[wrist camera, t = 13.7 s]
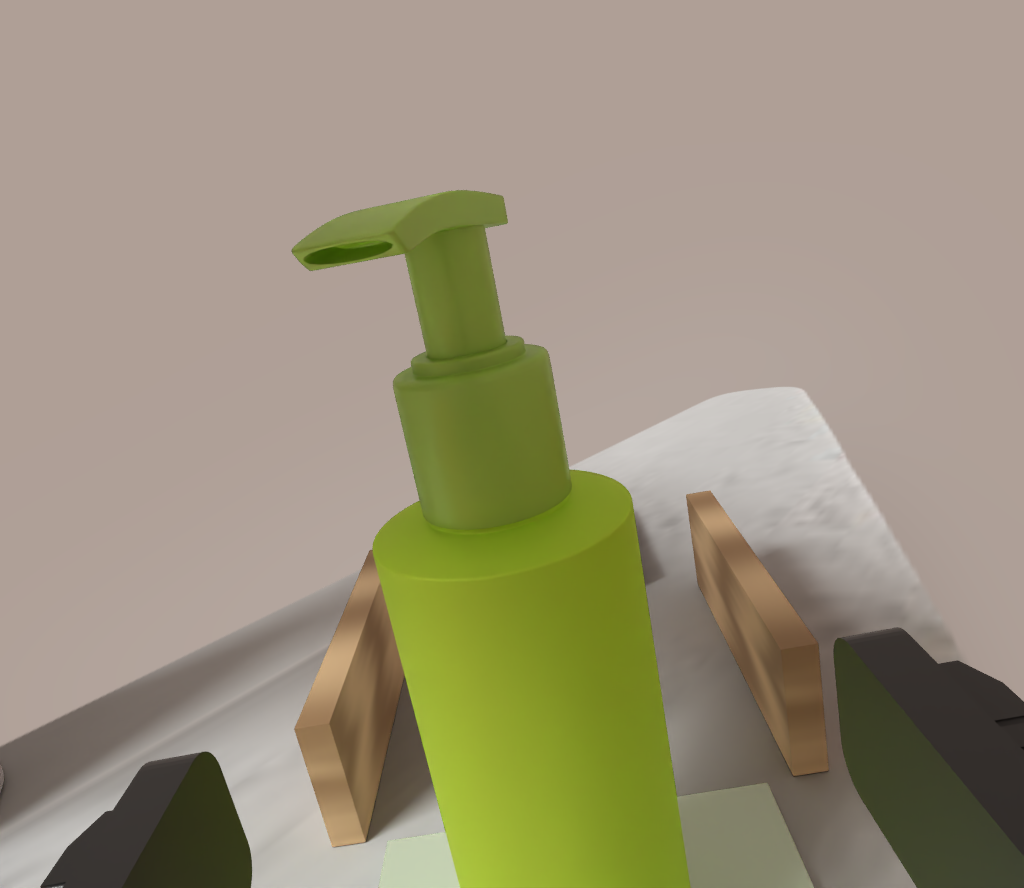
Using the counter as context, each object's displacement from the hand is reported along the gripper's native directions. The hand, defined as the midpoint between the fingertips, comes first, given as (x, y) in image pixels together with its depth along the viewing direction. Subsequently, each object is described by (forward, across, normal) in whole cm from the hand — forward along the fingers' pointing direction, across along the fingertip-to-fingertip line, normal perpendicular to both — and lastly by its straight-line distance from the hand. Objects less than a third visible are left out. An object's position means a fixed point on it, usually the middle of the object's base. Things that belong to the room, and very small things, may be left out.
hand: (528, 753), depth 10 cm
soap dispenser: (+7, +1, +13) cm, 15 cm away
